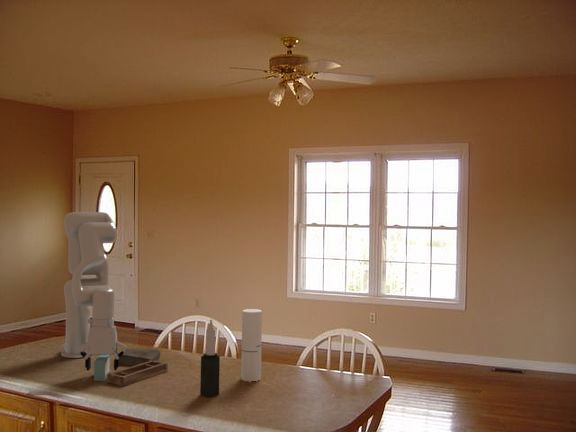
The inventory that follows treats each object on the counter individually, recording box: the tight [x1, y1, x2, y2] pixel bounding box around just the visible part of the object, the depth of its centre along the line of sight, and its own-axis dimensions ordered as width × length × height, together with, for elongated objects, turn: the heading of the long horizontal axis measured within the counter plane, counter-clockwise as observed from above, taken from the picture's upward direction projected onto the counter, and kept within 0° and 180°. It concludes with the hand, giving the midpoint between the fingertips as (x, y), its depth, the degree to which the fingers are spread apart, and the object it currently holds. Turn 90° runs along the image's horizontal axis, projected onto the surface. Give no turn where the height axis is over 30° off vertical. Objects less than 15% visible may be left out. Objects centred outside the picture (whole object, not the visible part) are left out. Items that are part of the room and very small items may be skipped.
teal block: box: [93, 355, 111, 382], centre depth 206 cm, size 4×10×7 cm, turn 6°
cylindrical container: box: [240, 308, 263, 383], centre depth 206 cm, size 7×7×25 cm
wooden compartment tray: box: [106, 360, 169, 387], centre depth 207 cm, size 8×22×3 cm, turn 151°
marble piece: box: [119, 347, 161, 367], centre depth 227 cm, size 17×15×4 cm
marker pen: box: [199, 319, 221, 398], centre depth 188 cm, size 5×5×25 cm
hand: (102, 369), depth 206 cm, fingers open, 9 cm apart
